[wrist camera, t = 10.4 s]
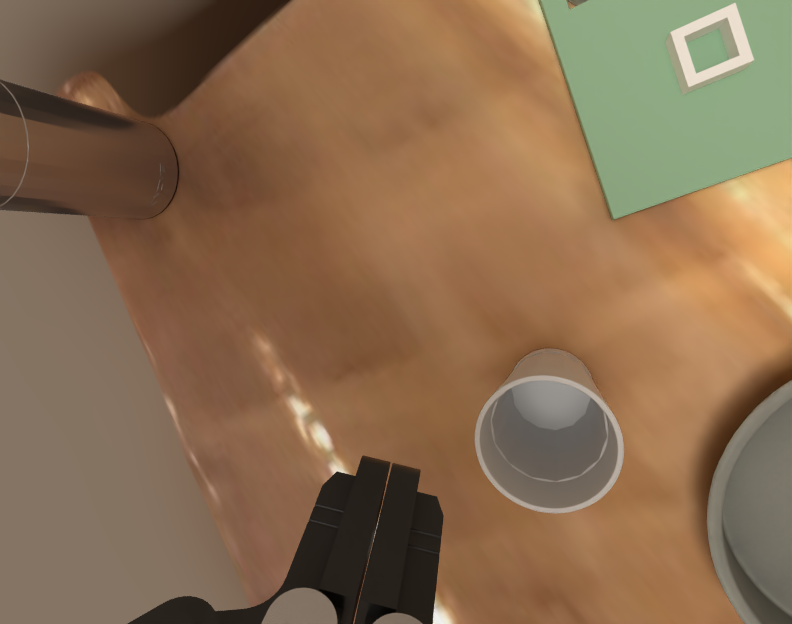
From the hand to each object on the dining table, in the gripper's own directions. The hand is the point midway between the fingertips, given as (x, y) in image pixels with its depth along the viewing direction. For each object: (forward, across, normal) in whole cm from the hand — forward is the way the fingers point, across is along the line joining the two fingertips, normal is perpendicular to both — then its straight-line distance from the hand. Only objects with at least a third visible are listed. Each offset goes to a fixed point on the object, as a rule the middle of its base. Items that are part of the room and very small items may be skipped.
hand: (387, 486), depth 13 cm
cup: (+25, +10, -12) cm, 30 cm away
